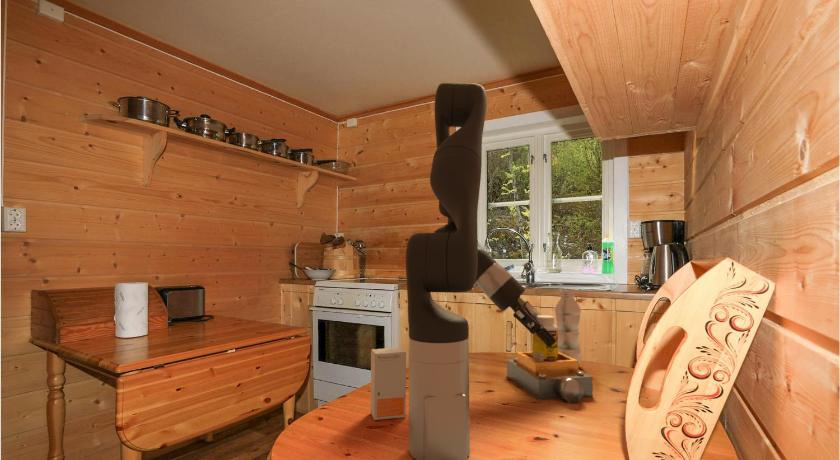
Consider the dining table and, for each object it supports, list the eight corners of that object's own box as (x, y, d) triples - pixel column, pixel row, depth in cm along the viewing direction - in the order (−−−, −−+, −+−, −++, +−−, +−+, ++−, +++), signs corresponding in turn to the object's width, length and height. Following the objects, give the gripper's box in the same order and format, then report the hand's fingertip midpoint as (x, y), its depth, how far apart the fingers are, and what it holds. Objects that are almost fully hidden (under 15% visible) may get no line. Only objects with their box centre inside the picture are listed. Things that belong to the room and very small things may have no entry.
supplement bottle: (546, 366, 94) (546, 318, 95) (527, 360, 99) (527, 315, 99) (563, 362, 97) (563, 316, 98) (544, 357, 102) (543, 313, 102)
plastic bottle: (549, 365, 115) (548, 289, 116) (569, 362, 118) (567, 288, 119) (567, 371, 109) (566, 291, 110) (587, 368, 112) (586, 290, 113)
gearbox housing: (601, 401, 88) (600, 368, 88) (545, 405, 85) (545, 371, 86) (553, 373, 107) (552, 346, 107) (507, 376, 105) (506, 349, 105)
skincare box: (373, 421, 78) (373, 353, 78) (370, 413, 82) (370, 348, 82) (406, 417, 79) (406, 351, 80) (401, 409, 83) (401, 346, 84)
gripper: (506, 277, 95) (565, 336, 90) (515, 273, 108) (566, 324, 104) (482, 300, 96) (539, 359, 92) (493, 294, 110) (543, 345, 105)
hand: (553, 341), depth 98 cm, fingers closed on supplement bottle, 5 cm apart
